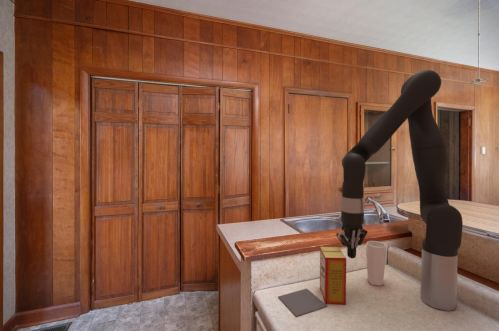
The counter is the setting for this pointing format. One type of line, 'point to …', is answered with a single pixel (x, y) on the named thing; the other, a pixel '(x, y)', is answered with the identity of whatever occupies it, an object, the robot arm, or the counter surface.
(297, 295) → the mat
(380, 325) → the counter surface
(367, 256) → the pinkish beige cup
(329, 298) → the baking soda box
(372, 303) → the counter surface
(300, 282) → the counter surface
